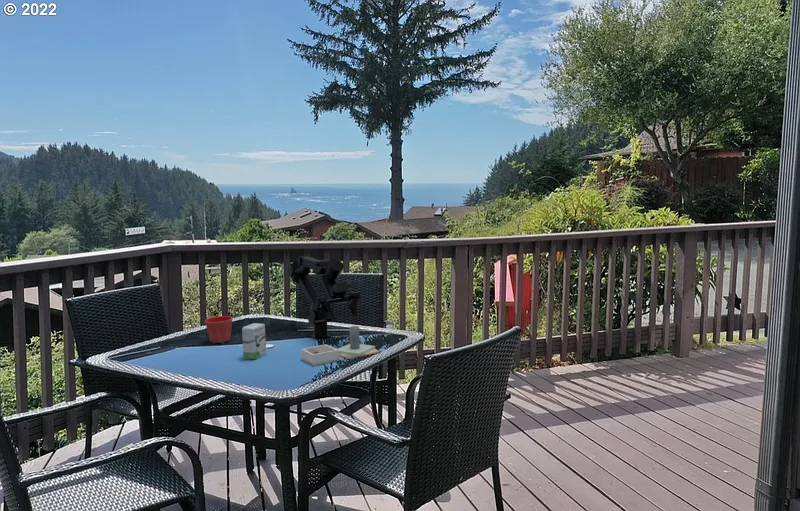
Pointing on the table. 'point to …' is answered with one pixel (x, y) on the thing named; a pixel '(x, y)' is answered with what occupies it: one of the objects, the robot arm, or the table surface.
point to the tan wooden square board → (359, 356)
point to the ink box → (254, 341)
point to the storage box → (320, 355)
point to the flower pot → (219, 328)
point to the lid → (355, 344)
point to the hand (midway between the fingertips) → (345, 318)
